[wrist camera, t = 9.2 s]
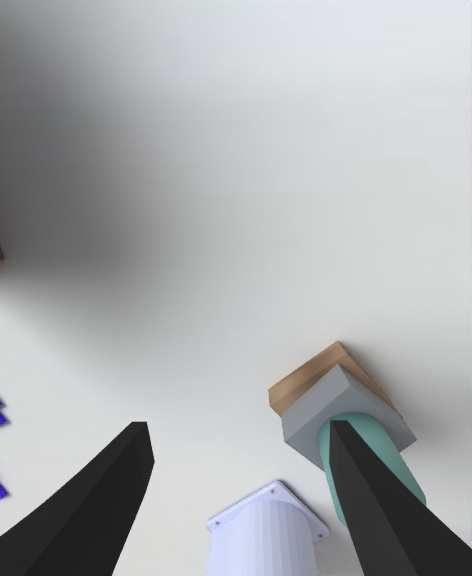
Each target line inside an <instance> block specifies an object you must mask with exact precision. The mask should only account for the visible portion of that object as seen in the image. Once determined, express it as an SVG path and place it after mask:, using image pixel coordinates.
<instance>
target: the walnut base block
mask: <svg viewBox="0 0 472 576" xmlns="http://www.w3.org/2000/svg"><path fill="white" fill-rule="evenodd" d="M337 363H338V364H339V365H341V366H342V367H343V368H344V369H345V370H347V371H348V372H349V373H350V374H351V375H353V376H354V377H355V378H356V379H358V380H359V381H360V382H361V383H362V384H364V385H365V386H366V387H367V388H368V389H370V390H371V391H372V392H373V393H375V394H376V395H377V396H378V397H379V398H381V399H382V400H383V401H384V402H386V403H387V404H388V405H389V406H390V407H392V408H393V409H394V410H395V411H396V412H397V413H398V414H399V412H398V411H397V410H396V408H395V407H394V406H393V404H392V403H391V402H390V400H389V399H388V398H387V397H386V396H385V395H384V394H383V392H382V391H381V390H380V389H379V388H378V387H377V385H376V384H375V383H374V382H373V381H372V380H371V379H370V377H369V376H368V375H367V374H366V373H365V372H364V370H363V369H362V368H361V367H360V366H359V365H358V364H357V362H356V361H355V360H354V359H353V358H352V357H351V356H350V354H349V353H348V352H347V351H346V350H345V349H344V347H343V346H342V345H341V344H340V343H339V342H338V341H336V342H335V343H333V344H332V345H330V346H329V347H328V348H326V349H325V350H323V351H322V352H321V353H319V354H318V355H316V356H315V357H313V358H312V359H311V360H309V361H308V362H306V363H305V364H304V365H302V366H301V367H299V368H298V369H296V370H295V371H294V372H292V373H291V374H289V375H288V376H287V377H285V378H284V379H282V380H281V381H279V382H278V383H277V384H275V385H274V386H272V387H271V388H270V389H268V390H269V402H270V407H271V408H272V409H273V410H274V411H275V412H276V413H277V414H278V415H279V416H280V417H281V414H282V413H283V412H284V411H286V410H287V409H288V408H289V407H290V406H291V405H292V404H293V403H294V402H296V401H297V400H298V399H299V398H300V397H301V396H302V395H303V394H304V393H305V392H307V391H308V390H309V389H310V388H311V387H312V386H313V385H314V384H315V383H317V382H318V381H319V380H320V379H321V378H322V377H323V376H324V375H325V374H326V373H328V372H329V371H330V370H331V369H332V368H333V367H334V366H335V365H336V364H337ZM399 416H400V417H401V418H402V416H401V415H400V414H399ZM402 419H403V418H402Z"/></svg>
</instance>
